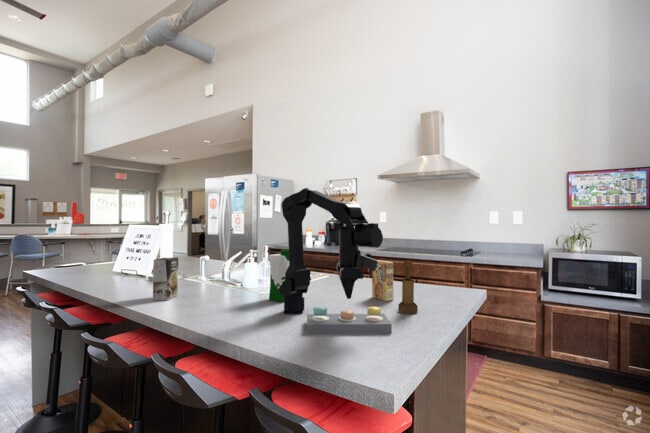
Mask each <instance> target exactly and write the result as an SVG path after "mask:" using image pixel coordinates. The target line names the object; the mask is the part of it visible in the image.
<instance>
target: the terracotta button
mask: <svg viewBox="0 0 650 433" xmlns="http://www.w3.org/2000/svg"><path fill="white" fill-rule="evenodd" d="M340 314H341V318H342V319H353V318H354V314H355V311H354V310H349V309H343V310H341V311H340Z"/></svg>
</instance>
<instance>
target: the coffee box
mask: <svg viewBox="0 0 650 433" xmlns="http://www.w3.org/2000/svg"><path fill="white" fill-rule="evenodd" d="M152 270H153V273H152V274H153V275H152V276H153V278H152V301H170V300H172V299H174V298H177V297H178V296H179V257H161V258H155V259H153V269H152Z"/></svg>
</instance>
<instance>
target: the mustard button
mask: <svg viewBox="0 0 650 433" xmlns="http://www.w3.org/2000/svg"><path fill="white" fill-rule="evenodd" d="M366 310H367V312H366V314H369V315H375V316H376V315H381V314H382V308H381V307H379V306H369V307H367V309H366Z"/></svg>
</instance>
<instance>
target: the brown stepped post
mask: <svg viewBox="0 0 650 433" xmlns="http://www.w3.org/2000/svg"><path fill="white" fill-rule="evenodd" d="M403 266H404V269H405V272H404V277H405V278H403V279H402V278H401V279H402V283H401V284H402V287H401V289H402V291H401V292H402V293H401V294H402V295H401V298H402V299H401V302H400V303H398V307H397V308H398V309H397V310H398V312H399V313H402V314H408V315H410V314H411V315H412V314H413V315H414V314H417V313H418V305H417V304H416V303H415V301H414V294H415V292H414V291H415V290H414V288H415V286H414V285H415V281H414V279H412V278H411V276H412V272H411V269H412V268H413V262H412V260H411V259H406V260H404V262H403Z"/></svg>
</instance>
